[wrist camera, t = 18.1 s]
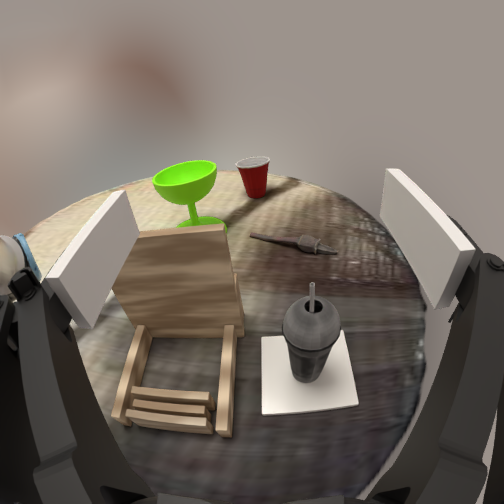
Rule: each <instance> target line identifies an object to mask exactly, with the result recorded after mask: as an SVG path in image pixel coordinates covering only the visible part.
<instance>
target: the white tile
mask: <svg viewBox="0 0 504 504" xmlns="http://www.w3.org/2000/svg"><path fill="white" fill-rule="evenodd" d="M358 404H359V403H358V398H357V393H356V388H355V383H354V378H353V373H352V368H351V363H350V359H349V354H348V350H347V345H346V341H345V337H344V332H343V330H341V331H340V336H339V338H338V340H337V341H336V343H335V344H334V345H333V347H332V349H331V351H330V354H329V356H328V358H327V361H326V363H325V366H324V368H323V370H322V372H321V373H320V376H319V377H318V379H316V380H315V381H313V382H311V383H302V382H299V381H297V380H296V379H295V378H294V377H293V374H292V370H291V366H290V359H289V353H288V346H287V343H286V341H285V338H284V336H273V337H262V416H266V415H285V414H298V413H309V412H318V411H326V410H334V409H341V408H347V407H353V406H358Z"/></svg>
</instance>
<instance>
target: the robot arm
mask: <svg viewBox="0 0 504 504" xmlns="http://www.w3.org/2000/svg"><path fill="white" fill-rule="evenodd" d="M380 218H381V219H382V221H383V222H384V224H385V225H386V227H387V228H388V230H389V231H390V233H391V234H392V236H393V237H394V239H395V241H396V242H397V244H398V245H399V247H400V249H401V250H402V252H403V254H404V255H405V257H406V259H407V260H408V262H409V264H410V265H411V267H412V269H413V271H414V272H415V274H416V276H417V278H418V280H419V281H420V283H421V285H422V287H423V289H424V291H425V293H426V294H427V296H428V298H429V300H430V302H431V304H432V306H433V308H434V309H440V308H445V307H449V306H450V304H451V302H452V300H453V298H454V296H455V295H456V297H457V299H458V301H459V303H458V305H457V307H456V309H455V311H454V312H453V314H452V316H451V318H450V319H449V321H448V322H449V323H450V322H451V321H452V319H453V322H452V325H451V329H450V333H449V337H448V340H447V344H446V347H445V350H444V353H443V357H442V360H441V362H440V366H439V369H438V371H437V374H436V377H435V379H434V382H433V385H432V387H431V390H430V392H429V395H428V397H427V400H426V402H425V404H424V407H423V409H422V411H421V413H420V416H419V418H418V420H417V422H416V424H415V426H414V428H413V430H412V432H411V434H410V436H409V438H408V440H407V442H406V443H405V445H404V447H403V449H402V451H401V453H400V455H399V456H398V458H397V459H396V461H395V463H394V464H393V466H392V467H391V468H390V469H389V470H388V471H387V472H386V473H385V474H384V475H383V476H382V477H381V479H380V480H379V481H378V482H377V484H376V485H375V487H374V488H373V489H372V491H371V492H370V494H369V495H368V496H367V498H366V499H365V500H360V499H354V498H346V497H343V495H338V496H329V497H321V498H313V499H304V500H293V501H289V502H286V503H282V504H475V503H476V501H477V498H478V497H479V495H480V493H481V490H482V488H483V486H484V484H485V481H486V477H487V466H486V465H485V464H484V463H483V462H482V457H483V453H484V450H485V448H486V445H487V441H488V439H489V435H490V432H491V429H492V425H493V422H494V418H495V414H496V410H497V422H496V432H495V440H494V448H493V455H492V460H491V465H490V470H489V475H488V480H487V484H486V489H485V494H484V499H483V504H504V262H503V261H502V260H501V259H500V258H499V257H497V256H496V255H493V254H490V253H483V252H482V251H481V250H480V248H479V247H478V246H477V245H476V243H475V242H474V241H473V240H472V239H471V237H470V236H469V235H467V233H466V232H465V230H463V229H462V227H461V226H460V225H459V224H458V223H457V222H456V221H455V220H454V219H453V218H451V217H450V216H448V215H446V214H445V213H444V212H443V211H442V210H441V209H440V208H439V207H438V206H437V205H436V204H435V203H434V202H433V201H432V200H431V199H430V198H429V197H428V196H427V195H426V194H425V193H424V192H423V191H422V190H421V189H420V188H419V187H418V186H417V185H416V184H415V183H414V182H413V181H412V180H411V179H409V178H408V177H407V176H406V175H405V174H404V173H403V172H402V171H401V170H400V169H386V173H385V182H384V190H383V197H382V204H381V211H380ZM139 235H140V232H139V230H138V227H137V224H136V221H135V218H134V215H133V212H132V209H131V206H130V203H129V200H128V197H127V194H126V191H125V190H121V191H116V192H113V193H112V194H111V195H110V196H109V197H108V198H107V199H106V200H105V202H104V203H103V204H102V205H101V206H100V207H99V208H98V210H97V211H96V212H95V213H94V214H93V215H92V217H91V218H90V219H89V220H88V221H87V223H86V224H85V225H84V226H83V228H82V229H81V230H80V231H79V232H78V234H77V235H76V236H75V238H74V239H73V240H72V241H71V243H70V244H69V245H68V247H67V248H66V249H65V250H64V251H63V253H62V254H61V255H60V257H59V259H57V261H56V262H55V264H54V265H53V266H52V268H51V269H50V271H49V272H48V274H47V275H46V277H45V278H44V280H43V281H42V283H41V284H40V282H39V281H40V280H41V277H42V275H41V272H40V270H39V268H38V266H37V264H36V262H35V260H34V258H33V255H32V253H31V251H30V249H29V246H28V244H27V242H26V240H25V238H24V235H23V234H22V233H19V234H18V235H14V236H13V238H11V237H8V236H4V235H1V236H0V504H233V503H229V502H226V501H221V500H210V499H200V498H192V497H184V496H177V495H170V494H164V493H158V496H155V495H154V494H153V492H152V491H151V489H150V488H149V487H148V485H147V484H146V483H145V482H144V481H143V480H142V479H141V478H140V477H139V476H138V475H137V474H136V473H134V471H133V470H132V469H131V468H130V466H129V465H128V463H127V461H126V459H125V458H124V456H123V454H122V452H121V450H120V448H119V447H118V445H117V443H116V441H115V439H114V437H113V435H112V433H111V431H110V429H109V427H108V424H107V422H106V420H105V418H104V416H103V414H102V411H101V409H100V407H99V404H98V402H97V399H96V397H95V395H94V392H93V389H92V387H91V384H90V382H89V379H88V376H87V373H86V370H85V367H84V365H83V362H82V358H81V355H80V352H79V349H78V346H77V342H76V339H75V335H74V332H73V329H72V328H71V326H70V325H69V323H70V321H71V319H73V320H74V321H75V323H76V324H77V325H78V327H79V328H89V329H93V327H94V325H95V322H96V320H97V318H98V316H99V313H100V311H101V309H102V307H103V305H104V303H105V300H106V298H107V296H108V294H109V292H110V290H111V288H112V286H113V284H114V282H115V280H116V278H117V276H118V274H119V272H120V270H121V268H122V266H123V264H124V262H125V260H126V258H127V257H128V255H129V253H130V251H131V249H132V247H133V246H134V244H135V242H136V240H137V238H138V237H139ZM16 299H17V302H14V303H13V301H15V300H16Z"/></svg>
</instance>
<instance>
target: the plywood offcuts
mask: <svg viewBox="0 0 504 504" xmlns="http://www.w3.org/2000/svg"><path fill="white" fill-rule="evenodd" d="M131 393H132V394H133V395H134V396H135V397H136V398H137V399H138V400H137V399H134V401H133V405H132V406H133V407H134V408H135V409H137V410H138V411H137V410H131V409H127V411H126V415H125V416H126V417H127V418H129V419H130V420H131V421H133V422H134V423H136V424H137V425H138V426H143V427H150V428H156V429H163V430H171V431H179V432H190V433H202V434H213V429H214V427H213V426H212V424H211V423H210V422H211V414H210V412H209V411H208V410H215V404H216V403H215V402H214V400H213V398H212V397H211V395H210V393H209V392H195V391H178V390H165V389H154V388H145V387H137V386H132V390H131Z"/></svg>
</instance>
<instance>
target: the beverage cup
mask: <svg viewBox="0 0 504 504" xmlns="http://www.w3.org/2000/svg"><path fill="white" fill-rule="evenodd" d="M340 331H341V326H340V318H339V314H338V311H337V310H336V308H335V307H334V306H333V304H332V303H330V302H329V301H328V300H326V299H324V298H322V297H318V296H315V283H313V282H312V283H310V296H307V297H304V298H301V299H299V300H297V301H296V302H294V303H293V304H292V305H291V307H290V308H289V309H288V311H287V312H286V315H285V318H284V321H283V324H282V334H283V336H284V338H285V341H286V343H287V346H288V353H289V359H290V366H291V370H292V374H293V377H294V378H295V379H296V380H297V381H299V382H302V383H311V382H313V381H315V380H316V379H318V377H319V376H320V373H321V372H322V370H323V368H324V366H325V363H326V361H327V358H328V356H329V354H330V351H331V349H332V347H333V345H334V344H335V343H336V341H337V340H338V338H339V336H340Z"/></svg>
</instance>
